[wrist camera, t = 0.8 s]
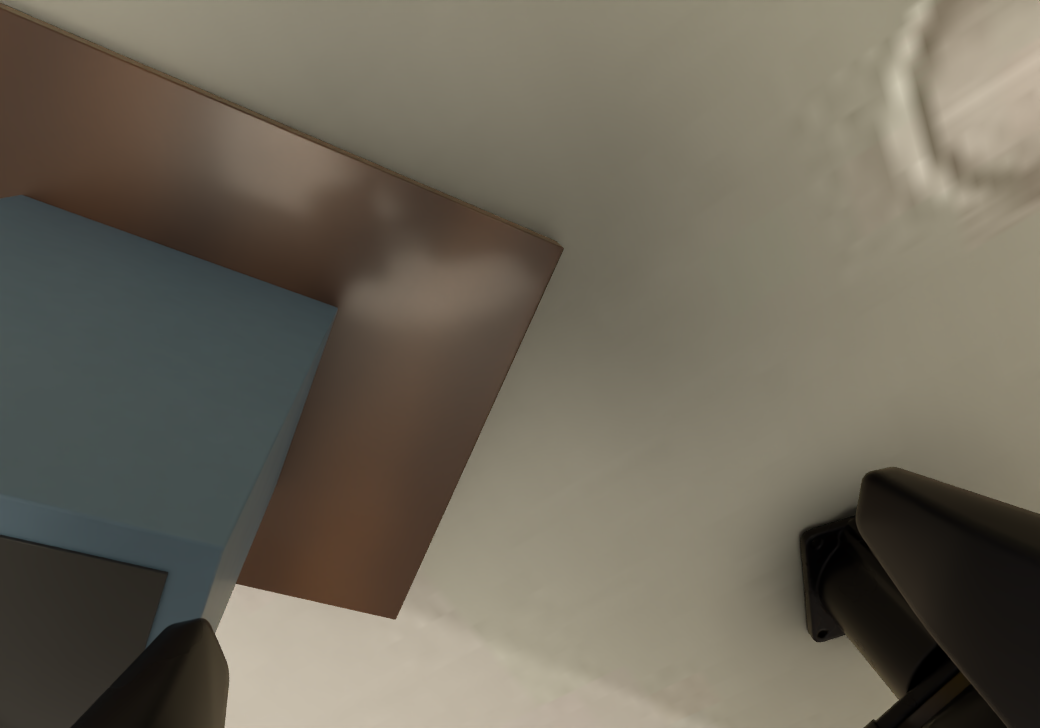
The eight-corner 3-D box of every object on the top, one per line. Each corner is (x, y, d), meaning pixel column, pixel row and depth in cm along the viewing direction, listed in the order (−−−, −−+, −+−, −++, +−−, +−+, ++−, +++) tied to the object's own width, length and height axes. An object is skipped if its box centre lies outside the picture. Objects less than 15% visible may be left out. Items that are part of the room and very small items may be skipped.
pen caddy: (338, 307, 20) (205, 589, 8) (275, 486, 22) (93, 928, 10) (21, 194, 17) (-870, 352, 5) (-17, 407, 19) (-729, 866, 7)
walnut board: (557, 241, 21) (564, 248, 20) (397, 598, 26) (395, 620, 24) (-239, -100, 15) (-291, -118, 14) (-263, 443, 20) (-305, 463, 19)
